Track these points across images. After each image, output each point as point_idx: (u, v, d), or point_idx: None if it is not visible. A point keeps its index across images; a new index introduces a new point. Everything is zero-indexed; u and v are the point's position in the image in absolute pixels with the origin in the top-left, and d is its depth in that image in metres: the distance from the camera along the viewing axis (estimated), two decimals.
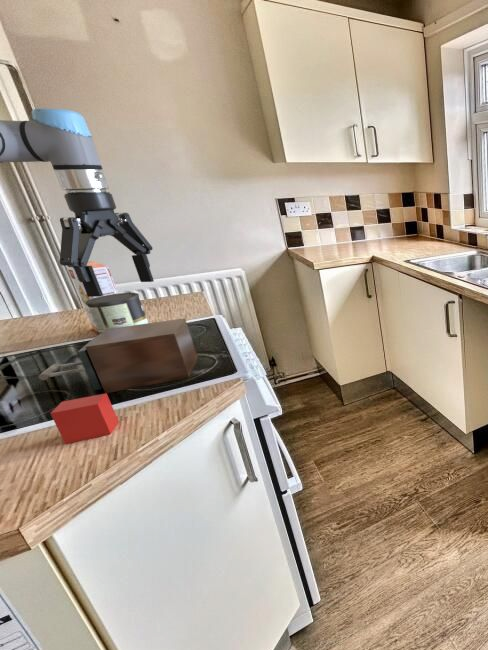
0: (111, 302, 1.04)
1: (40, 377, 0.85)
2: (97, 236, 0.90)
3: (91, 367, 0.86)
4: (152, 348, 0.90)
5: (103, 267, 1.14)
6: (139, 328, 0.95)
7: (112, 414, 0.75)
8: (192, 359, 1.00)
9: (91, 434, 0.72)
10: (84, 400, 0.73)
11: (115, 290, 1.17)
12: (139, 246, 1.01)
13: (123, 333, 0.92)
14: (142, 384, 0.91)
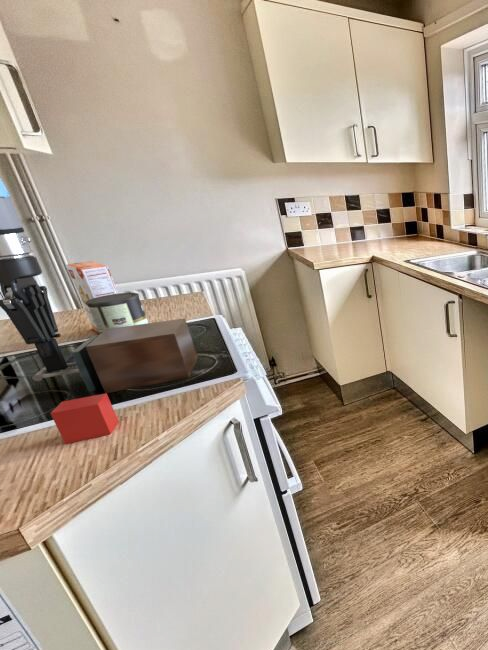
0: (111, 302, 1.04)
1: (34, 378, 0.85)
2: (37, 305, 0.83)
3: (85, 368, 0.86)
4: (152, 348, 0.90)
5: (103, 267, 1.14)
6: (139, 328, 0.95)
7: (112, 414, 0.75)
8: (192, 359, 1.00)
9: (91, 434, 0.72)
10: (84, 400, 0.73)
11: (115, 290, 1.17)
12: (50, 326, 0.87)
13: (123, 333, 0.92)
14: (142, 384, 0.91)
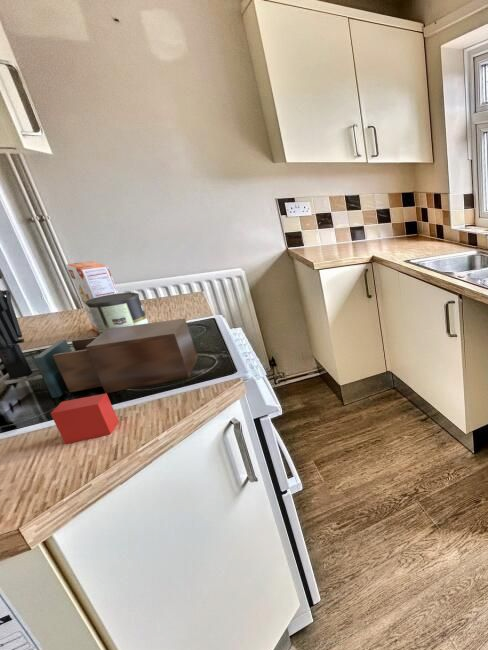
0: (111, 302, 1.04)
1: None
2: None
3: (48, 374, 0.84)
4: (152, 348, 0.90)
5: (103, 267, 1.14)
6: (139, 328, 0.95)
7: (112, 414, 0.75)
8: (192, 359, 1.00)
9: (91, 434, 0.72)
10: (84, 400, 0.73)
11: (115, 290, 1.17)
12: (13, 331, 0.85)
13: (123, 333, 0.92)
14: (142, 384, 0.91)
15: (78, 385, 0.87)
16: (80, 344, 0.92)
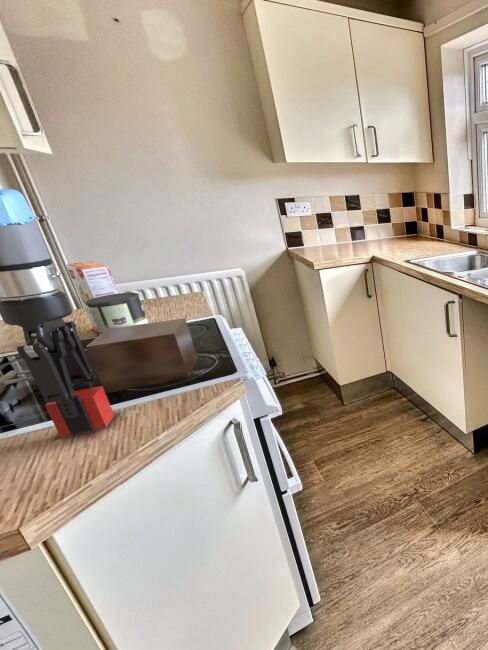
0: (111, 302, 1.04)
1: None
2: (65, 353, 0.68)
3: None
4: (152, 348, 0.90)
5: (103, 267, 1.14)
6: (139, 328, 0.95)
7: (107, 407, 0.75)
8: (192, 359, 1.00)
9: None
10: (80, 393, 0.72)
11: (115, 290, 1.17)
12: (84, 369, 0.73)
13: (123, 333, 0.92)
14: (142, 384, 0.91)
15: None
16: None
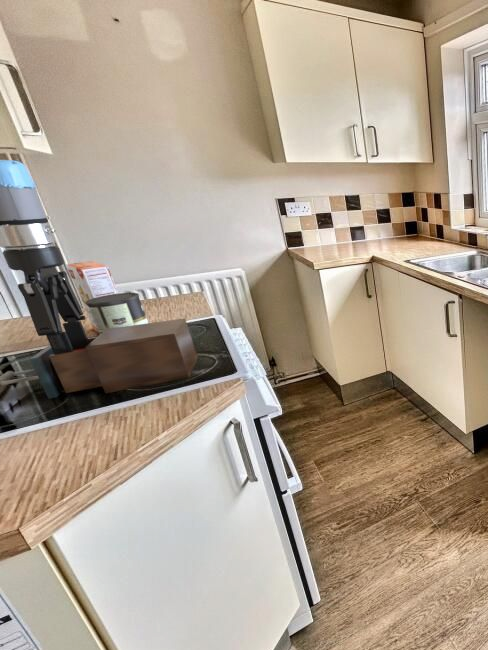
0: (111, 302, 1.04)
1: None
2: (56, 296, 0.83)
3: (45, 375, 0.83)
4: (152, 348, 0.90)
5: (103, 267, 1.14)
6: (139, 328, 0.95)
7: None
8: (192, 359, 1.00)
9: None
10: None
11: (115, 290, 1.17)
12: (75, 310, 0.90)
13: (123, 333, 0.92)
14: (142, 384, 0.91)
15: (74, 386, 0.87)
16: None
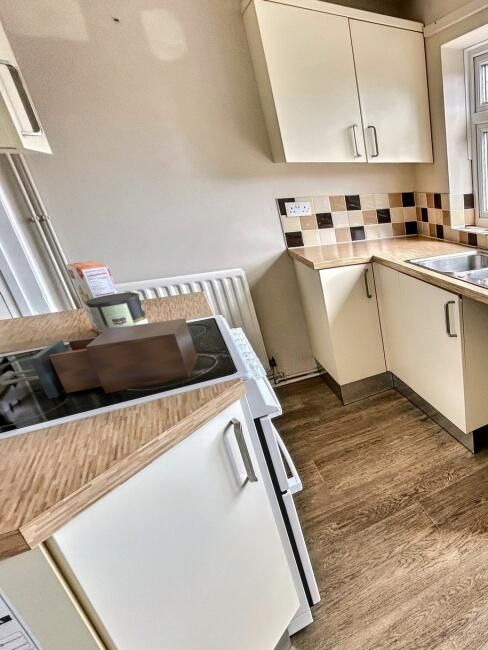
0: (111, 302, 1.04)
1: None
2: None
3: (45, 375, 0.83)
4: (152, 348, 0.90)
5: (103, 267, 1.14)
6: (139, 328, 0.95)
7: None
8: (192, 359, 1.00)
9: None
10: None
11: (115, 290, 1.17)
12: None
13: (123, 333, 0.92)
14: (142, 384, 0.91)
15: (75, 386, 0.87)
16: (77, 344, 0.92)
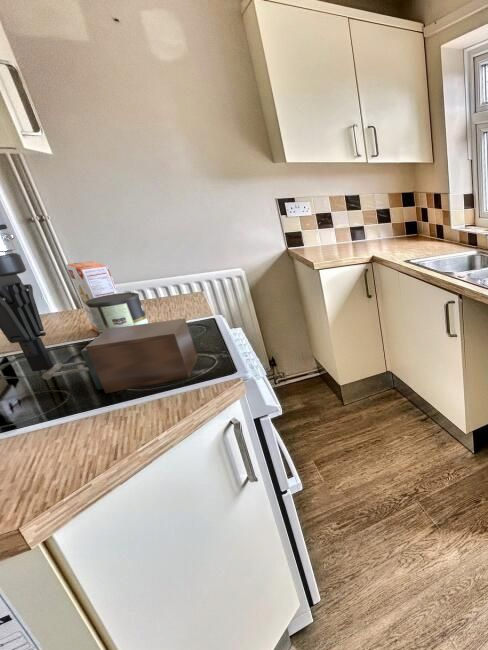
0: (111, 302, 1.04)
1: (43, 376, 0.85)
2: (21, 303, 0.82)
3: None
4: (152, 348, 0.90)
5: (103, 267, 1.14)
6: (139, 328, 0.95)
7: None
8: (192, 359, 1.00)
9: None
10: None
11: (115, 290, 1.17)
12: (35, 325, 0.86)
13: (123, 333, 0.92)
14: (142, 384, 0.91)
15: None
16: None
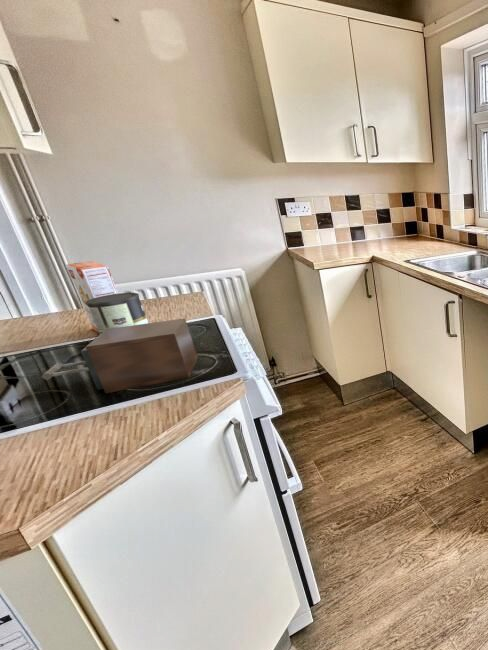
0: (111, 302, 1.04)
1: (43, 376, 0.85)
2: None
3: None
4: (152, 348, 0.90)
5: (103, 267, 1.14)
6: (139, 328, 0.95)
7: None
8: (192, 359, 1.00)
9: None
10: None
11: (115, 290, 1.17)
12: None
13: (123, 333, 0.92)
14: (142, 384, 0.91)
15: None
16: None
